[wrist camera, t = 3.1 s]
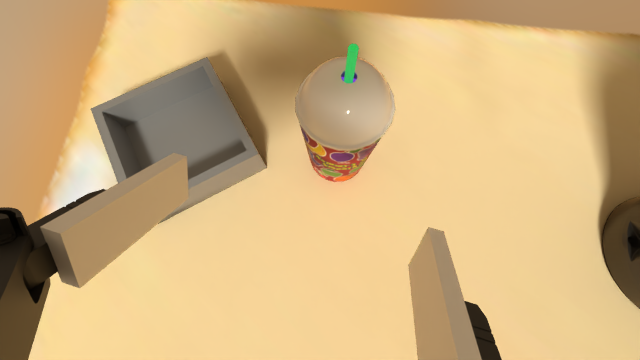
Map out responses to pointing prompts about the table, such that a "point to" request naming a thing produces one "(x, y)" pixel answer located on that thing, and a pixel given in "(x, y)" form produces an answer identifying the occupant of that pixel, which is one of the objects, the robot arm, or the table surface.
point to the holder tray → (180, 131)
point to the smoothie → (343, 114)
